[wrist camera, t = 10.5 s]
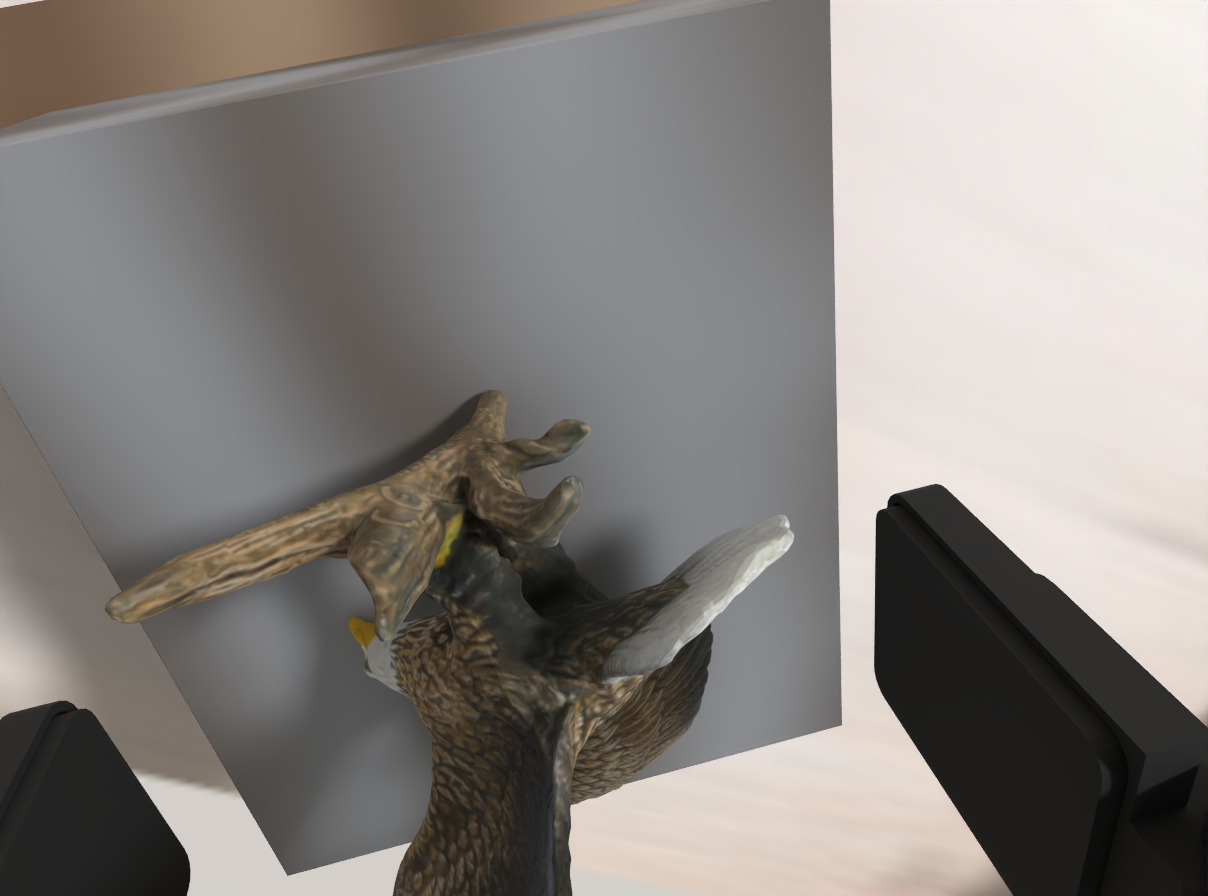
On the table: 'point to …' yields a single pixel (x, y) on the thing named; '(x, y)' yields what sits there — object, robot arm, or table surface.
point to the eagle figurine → (497, 642)
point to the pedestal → (426, 329)
